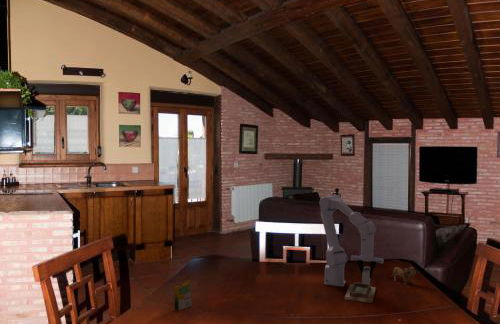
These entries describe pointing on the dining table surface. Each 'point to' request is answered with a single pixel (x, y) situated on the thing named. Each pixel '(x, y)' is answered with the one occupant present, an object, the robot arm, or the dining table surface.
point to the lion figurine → (404, 273)
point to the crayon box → (182, 295)
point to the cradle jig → (360, 292)
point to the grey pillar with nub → (366, 275)
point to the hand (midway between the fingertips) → (366, 276)
